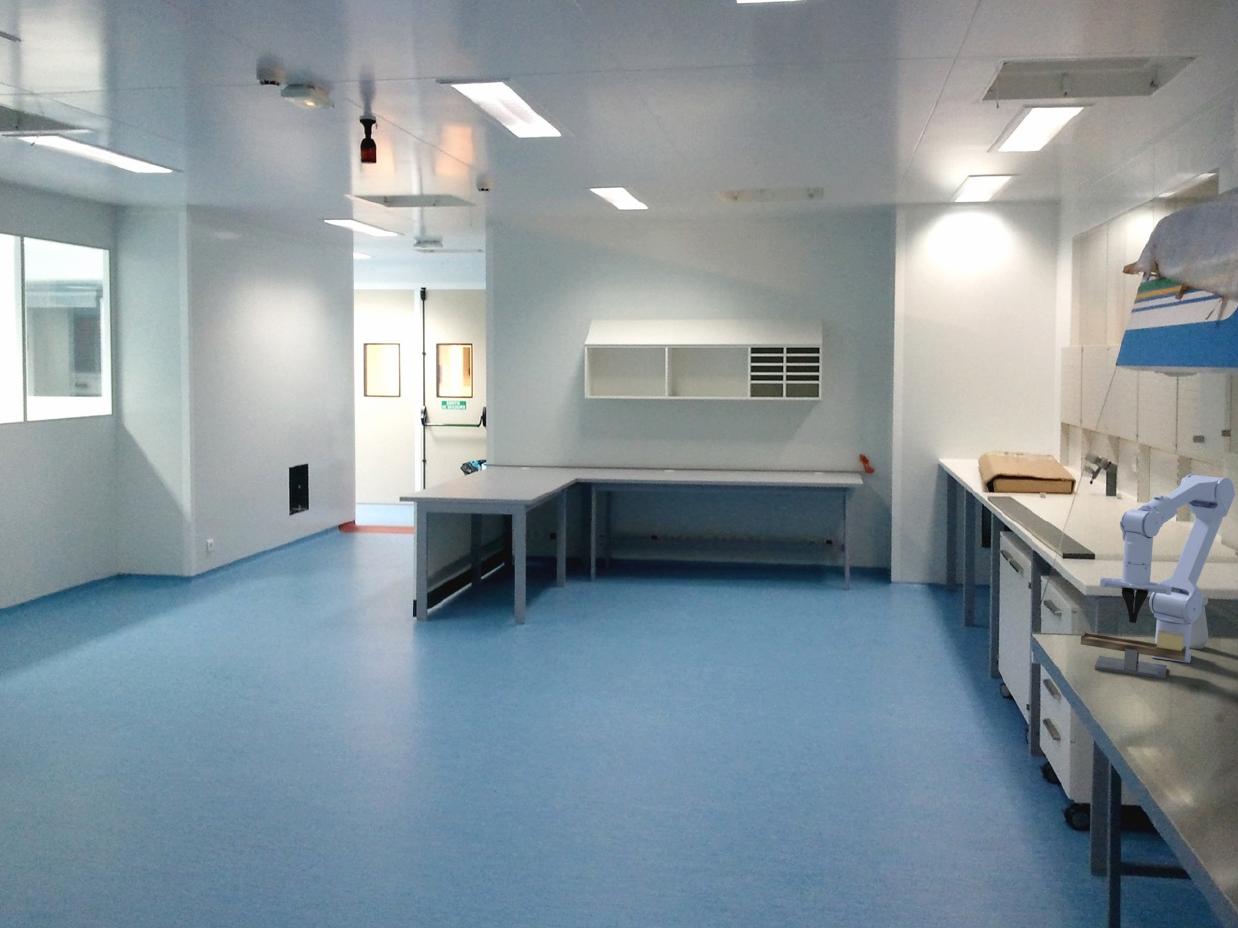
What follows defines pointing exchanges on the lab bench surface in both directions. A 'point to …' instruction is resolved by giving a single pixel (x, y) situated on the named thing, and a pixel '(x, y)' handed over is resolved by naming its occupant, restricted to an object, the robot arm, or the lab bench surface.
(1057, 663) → the lab bench surface
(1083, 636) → the beam
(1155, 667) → the pivot stand
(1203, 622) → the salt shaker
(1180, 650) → the block
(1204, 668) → the lab bench surface
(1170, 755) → the lab bench surface
